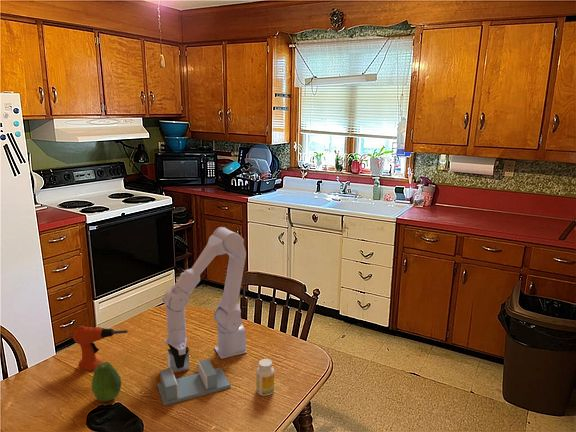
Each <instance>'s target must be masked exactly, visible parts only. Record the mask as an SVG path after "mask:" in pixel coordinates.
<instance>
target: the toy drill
mask: <svg viewBox="0 0 576 432" xmlns="http://www.w3.org/2000/svg"><path fill="white" fill-rule="evenodd" d="M127 333H128V330H127V329H122V330H119V329H118V330H114V329H112V328H105V327H101V326H94V327H93V326H84V325H80V326H79V327H78V328H77V329H76V330H74V332H73V334H72V338H73V341H74V342H75V343H76V344H77V345H80V346H79V347H80V348H81V359H80V360H79V361H78V369H79V370H81V371H86V372H88V371H89V372H94V371H95V368H96V367H97V366H98V365H99V364H100V363H102V362H104V361H103V360H100V359H98V358H97V356H96V354H97V353H98V352H99V350H100V349H99V348H98V347H97V345H96V343H94V342H97V341H101V340H102V339H104V340H105V338H109V337H113V336H114V335H118V334H127Z"/></svg>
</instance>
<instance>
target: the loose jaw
mask: <svg viewBox="0 0 576 432" xmlns="http://www.w3.org/2000/svg"><path fill="white" fill-rule="evenodd" d="M197 368H198V373H199V375H200V377H201V379H202V381H203V383H204V385H205V387H206V389H211V388H215V387H217V373H216V371H215V370H214V369H215V368H214V366H213V364H212V363H211V360H210V359H209V358H207V359H203V360H199V361H197Z"/></svg>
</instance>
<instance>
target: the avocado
mask: <svg viewBox="0 0 576 432" xmlns="http://www.w3.org/2000/svg"><path fill="white" fill-rule="evenodd" d="M121 379H122V377H121V376H120V374H119V372H118V371H117V369H115V367H114V366H113V365H112V364H111V362H109V361H103V362H102V363H100V364H99V365H98V366H97V367H96V368H95V371H93V375H92V380H91V389H92V390H91V391H92V393H93V394H94V397H95V398H96V399H97V400H98V401H100V402H109V401H112V400H113V399H115V398H116V397H117V396H118V395H119V394H120V391H121V388H122V380H121Z"/></svg>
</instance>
